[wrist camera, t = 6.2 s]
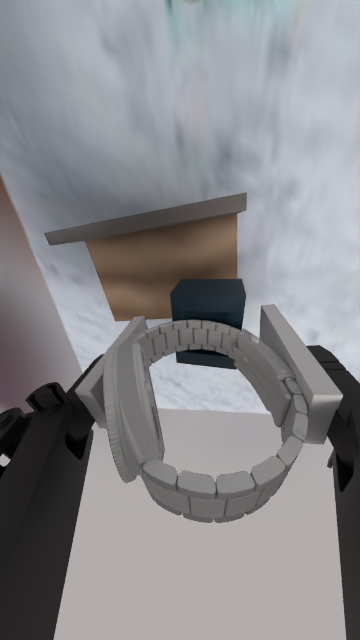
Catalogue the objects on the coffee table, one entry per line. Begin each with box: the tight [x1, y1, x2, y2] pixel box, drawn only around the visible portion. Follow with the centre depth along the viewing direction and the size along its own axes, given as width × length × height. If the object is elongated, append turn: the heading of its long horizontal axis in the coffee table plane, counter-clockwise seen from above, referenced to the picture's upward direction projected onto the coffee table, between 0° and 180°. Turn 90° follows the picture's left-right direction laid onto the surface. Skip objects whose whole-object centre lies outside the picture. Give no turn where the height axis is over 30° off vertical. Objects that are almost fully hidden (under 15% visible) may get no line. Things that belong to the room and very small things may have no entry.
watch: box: [103, 279, 308, 523], centre depth 9 cm, size 6×8×11 cm
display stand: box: [44, 193, 247, 321], centre depth 22 cm, size 14×20×8 cm
